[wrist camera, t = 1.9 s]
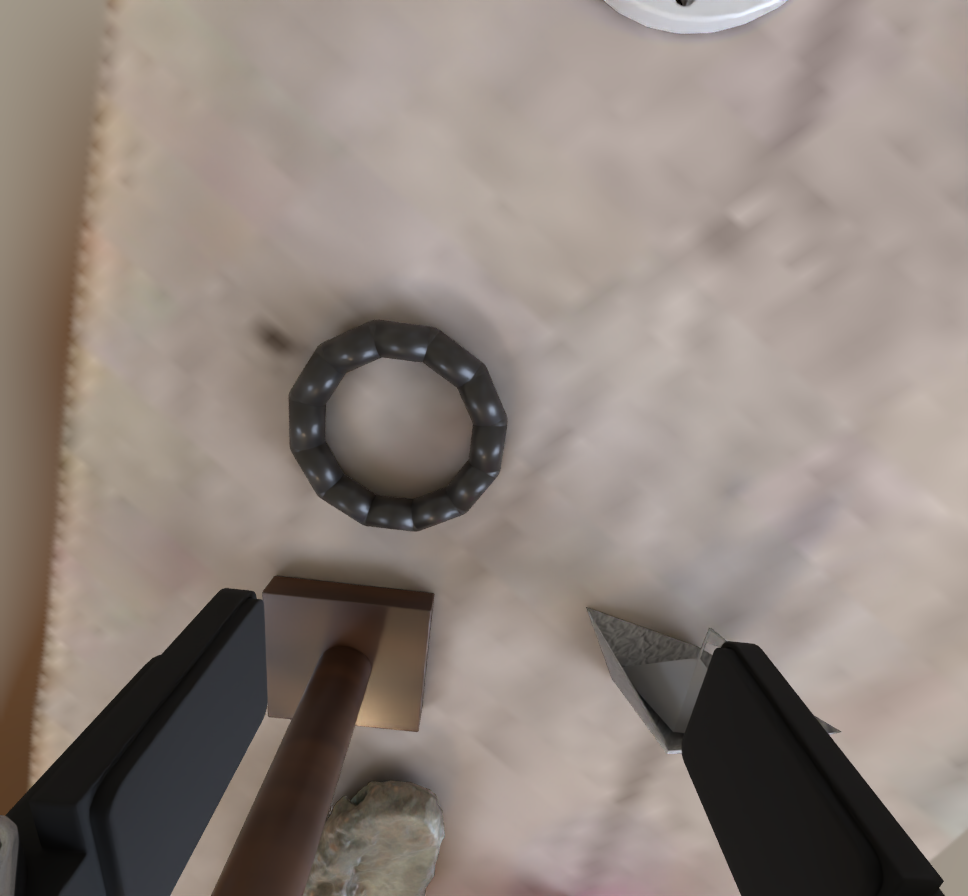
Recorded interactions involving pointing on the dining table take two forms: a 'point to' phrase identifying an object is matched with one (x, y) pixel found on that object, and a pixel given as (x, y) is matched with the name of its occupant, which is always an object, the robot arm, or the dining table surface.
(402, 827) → the long grey stone
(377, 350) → the hoop
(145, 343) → the dining table surface
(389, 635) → the peg stand
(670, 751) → the paper boat
